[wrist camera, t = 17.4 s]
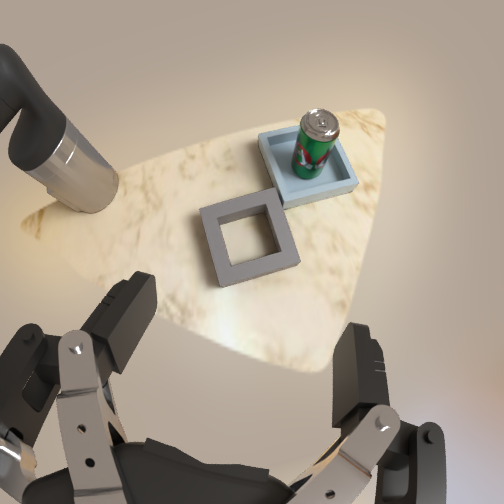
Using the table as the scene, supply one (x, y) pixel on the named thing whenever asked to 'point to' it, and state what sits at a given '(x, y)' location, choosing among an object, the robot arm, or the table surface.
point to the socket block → (242, 209)
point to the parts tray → (295, 187)
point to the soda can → (314, 143)
